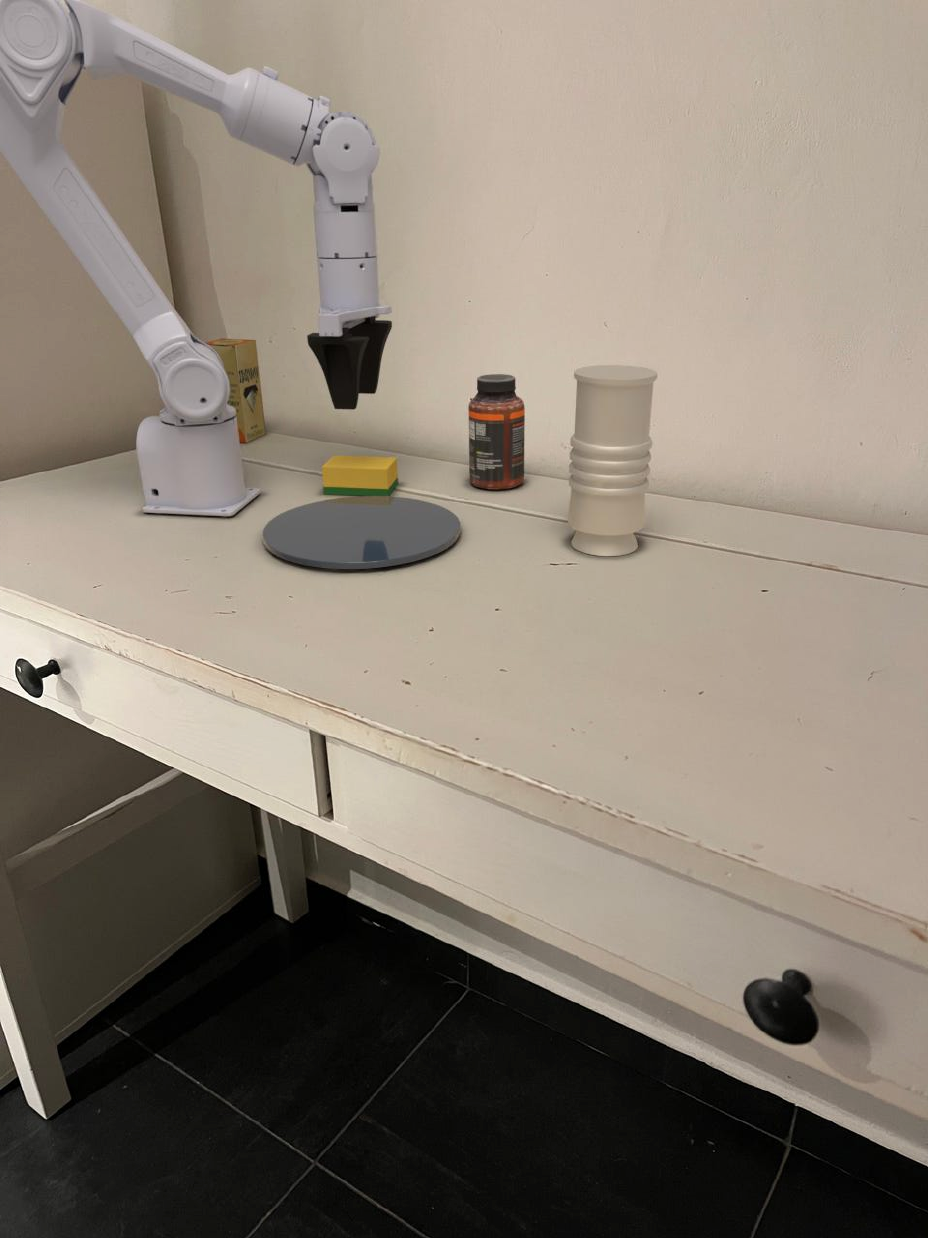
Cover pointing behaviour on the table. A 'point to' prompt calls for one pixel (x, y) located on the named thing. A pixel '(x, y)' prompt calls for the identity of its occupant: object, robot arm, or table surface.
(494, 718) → the table surface
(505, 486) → the supplement bottle
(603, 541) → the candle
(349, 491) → the sponge
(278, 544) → the plate
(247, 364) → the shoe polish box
